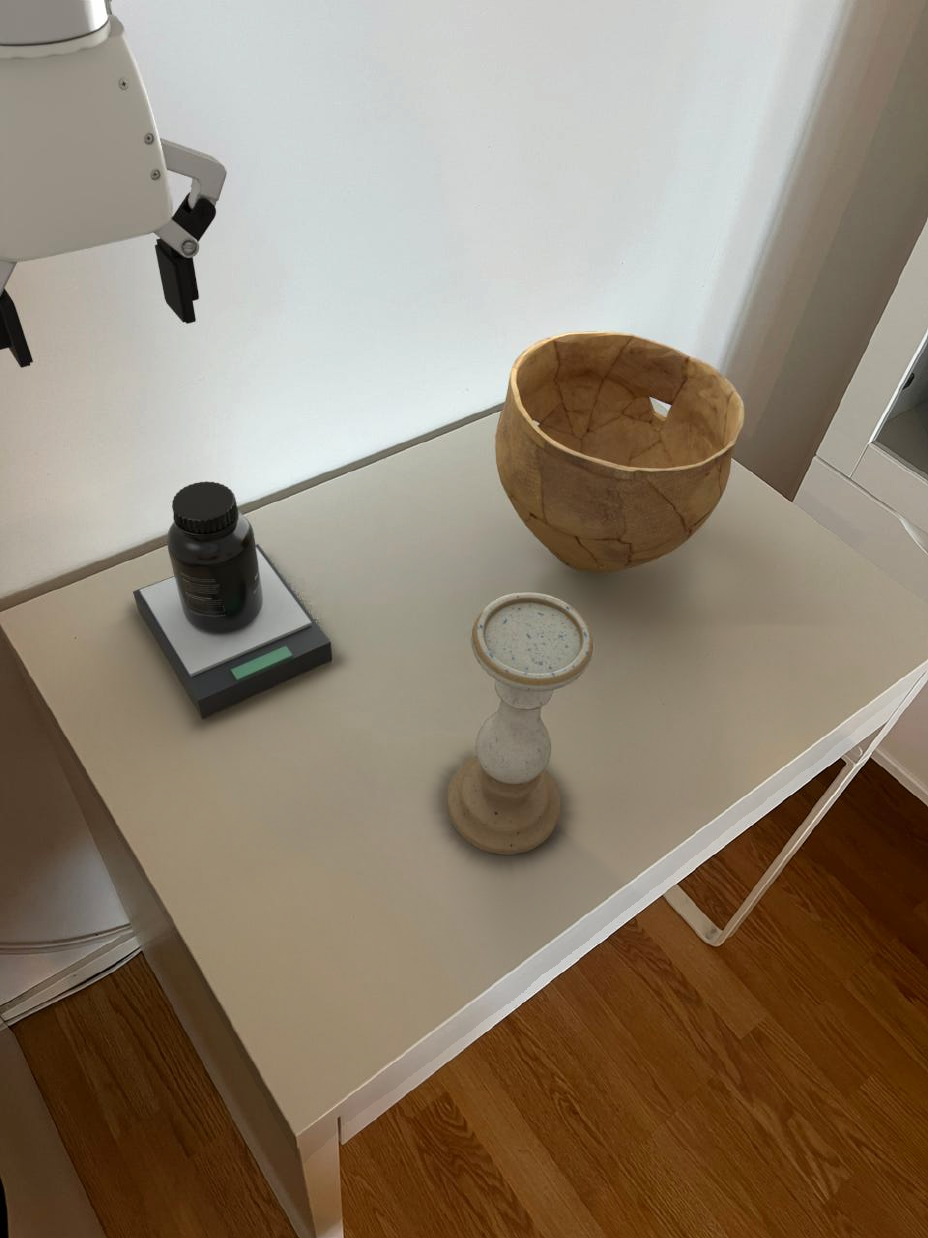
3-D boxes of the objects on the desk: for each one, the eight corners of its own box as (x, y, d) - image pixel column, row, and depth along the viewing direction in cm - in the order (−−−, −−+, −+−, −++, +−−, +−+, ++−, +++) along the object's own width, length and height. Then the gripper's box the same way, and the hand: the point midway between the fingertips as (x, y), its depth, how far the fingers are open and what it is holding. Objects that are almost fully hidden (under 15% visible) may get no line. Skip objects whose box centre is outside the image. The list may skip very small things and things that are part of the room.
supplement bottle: (280, 608, 81) (267, 503, 72) (215, 649, 77) (193, 544, 68) (231, 567, 84) (213, 461, 75) (166, 605, 80) (139, 498, 71)
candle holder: (503, 738, 76) (531, 563, 61) (582, 809, 72) (633, 640, 57) (423, 800, 72) (432, 627, 57) (502, 879, 68) (535, 716, 53)
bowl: (478, 491, 97) (494, 318, 82) (668, 495, 99) (718, 326, 84) (489, 643, 83) (511, 467, 68) (711, 645, 85) (779, 473, 70)
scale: (202, 719, 76) (196, 698, 74) (138, 610, 83) (131, 588, 81) (332, 660, 81) (330, 638, 79) (260, 562, 88) (257, 540, 86)
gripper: (168, -44, 48) (214, 271, 60) (-211, -8, 41) (-69, 340, 53) (230, -1, 44) (265, 326, 57) (-178, 46, 37) (-33, 408, 49)
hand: (103, 332), depth 55 cm, fingers open, 9 cm apart
